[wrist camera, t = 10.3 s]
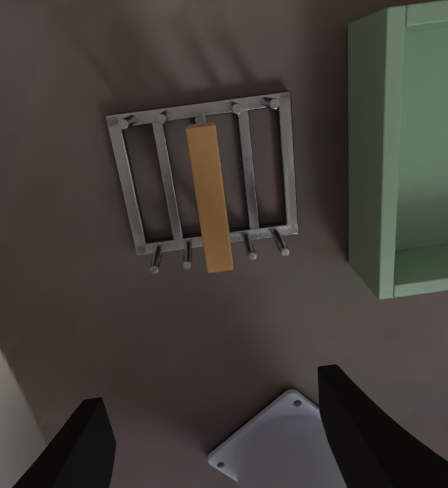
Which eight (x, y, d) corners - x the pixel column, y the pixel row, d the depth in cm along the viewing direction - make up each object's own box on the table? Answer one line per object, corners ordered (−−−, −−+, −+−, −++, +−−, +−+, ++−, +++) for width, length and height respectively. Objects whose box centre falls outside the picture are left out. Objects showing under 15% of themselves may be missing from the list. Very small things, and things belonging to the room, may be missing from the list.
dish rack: (288, 90, 18) (318, 92, 14) (296, 230, 21) (324, 271, 16) (107, 114, 18) (76, 124, 14) (138, 251, 21) (120, 299, 16)
